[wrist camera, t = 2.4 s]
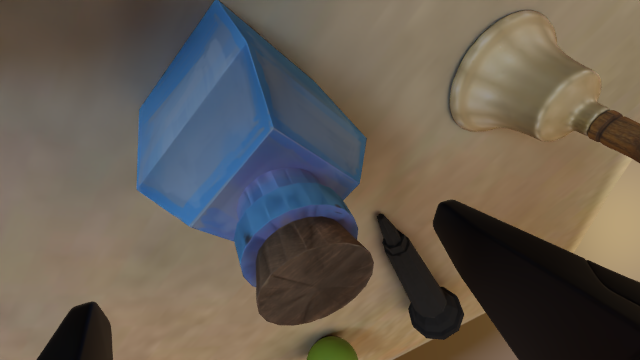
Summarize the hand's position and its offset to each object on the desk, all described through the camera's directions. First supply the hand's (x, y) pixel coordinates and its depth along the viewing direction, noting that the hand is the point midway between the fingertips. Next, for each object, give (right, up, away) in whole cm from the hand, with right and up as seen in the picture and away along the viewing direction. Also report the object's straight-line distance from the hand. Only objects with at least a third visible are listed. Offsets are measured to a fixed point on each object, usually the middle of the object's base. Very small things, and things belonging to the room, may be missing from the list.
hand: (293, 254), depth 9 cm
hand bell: (+13, +9, +15) cm, 22 cm away
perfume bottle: (-4, +6, +9) cm, 11 cm away
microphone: (+10, -6, +26) cm, 28 cm away
